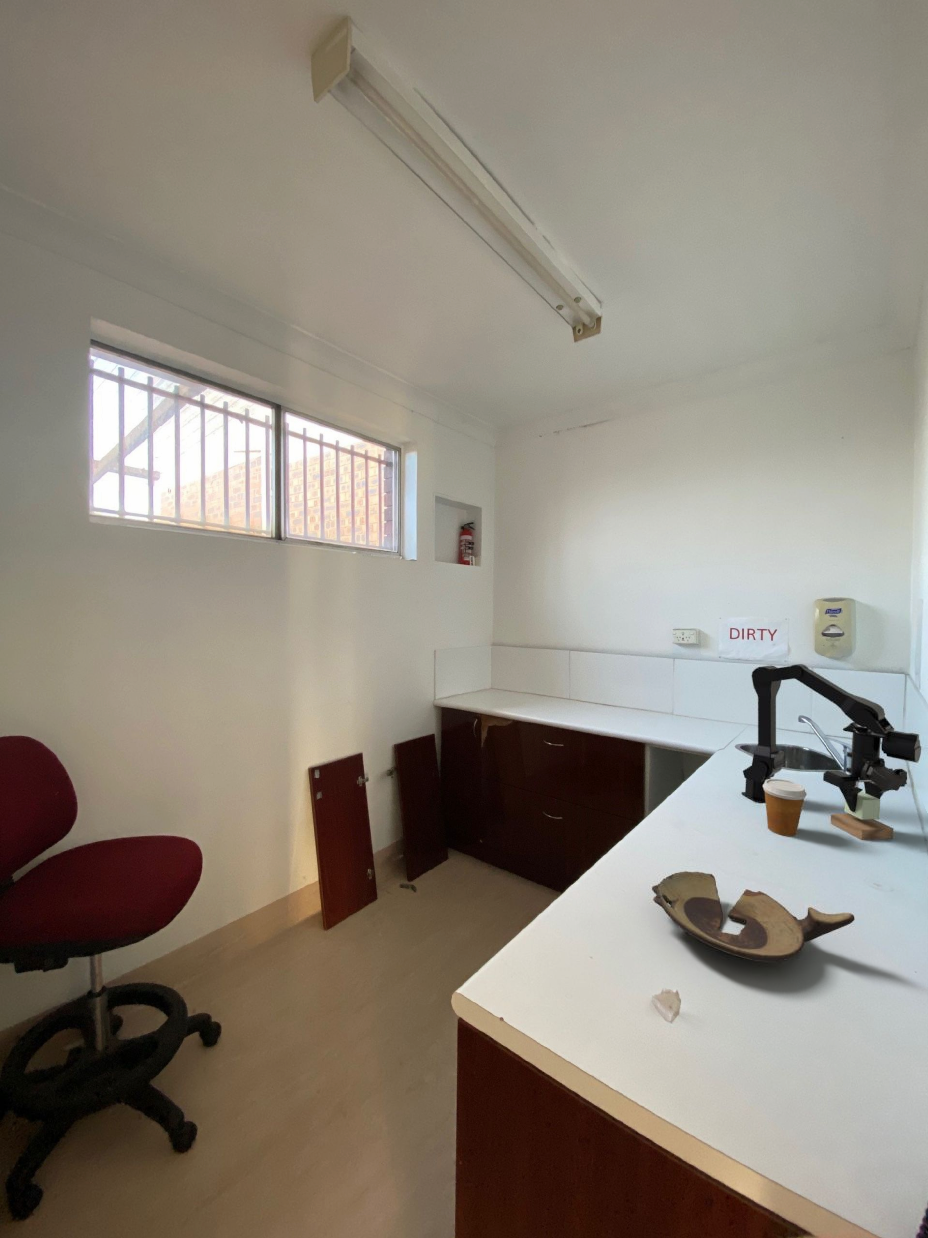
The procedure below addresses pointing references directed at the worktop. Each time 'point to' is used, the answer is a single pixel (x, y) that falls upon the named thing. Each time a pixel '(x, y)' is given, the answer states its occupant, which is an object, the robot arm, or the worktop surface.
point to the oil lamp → (741, 918)
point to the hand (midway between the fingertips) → (861, 811)
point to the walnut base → (862, 827)
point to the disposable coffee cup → (783, 805)
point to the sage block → (865, 807)
